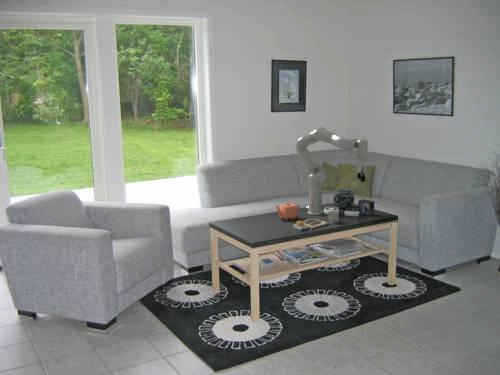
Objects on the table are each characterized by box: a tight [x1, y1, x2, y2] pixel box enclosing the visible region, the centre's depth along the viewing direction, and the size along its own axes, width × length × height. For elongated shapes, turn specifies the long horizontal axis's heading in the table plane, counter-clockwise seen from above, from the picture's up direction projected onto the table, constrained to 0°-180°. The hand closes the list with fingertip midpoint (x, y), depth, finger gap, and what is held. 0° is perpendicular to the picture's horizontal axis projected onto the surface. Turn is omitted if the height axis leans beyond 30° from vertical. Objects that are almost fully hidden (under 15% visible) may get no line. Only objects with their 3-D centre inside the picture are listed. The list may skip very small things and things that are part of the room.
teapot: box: [275, 202, 300, 221], centre depth 388 cm, size 20×12×12 cm, turn 113°
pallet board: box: [295, 217, 330, 230], centre depth 373 cm, size 16×17×2 cm
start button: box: [296, 220, 304, 226], centre depth 363 cm, size 4×4×3 cm
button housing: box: [292, 223, 309, 231], centre depth 364 cm, size 7×7×3 cm
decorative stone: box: [333, 188, 355, 209], centre depth 413 cm, size 16×16×15 cm
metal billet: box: [327, 209, 339, 225], centre depth 377 cm, size 4×6×8 cm
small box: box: [357, 198, 375, 217], centre depth 393 cm, size 11×6×10 cm, turn 43°
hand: (361, 180), depth 381 cm, fingers open, 9 cm apart
